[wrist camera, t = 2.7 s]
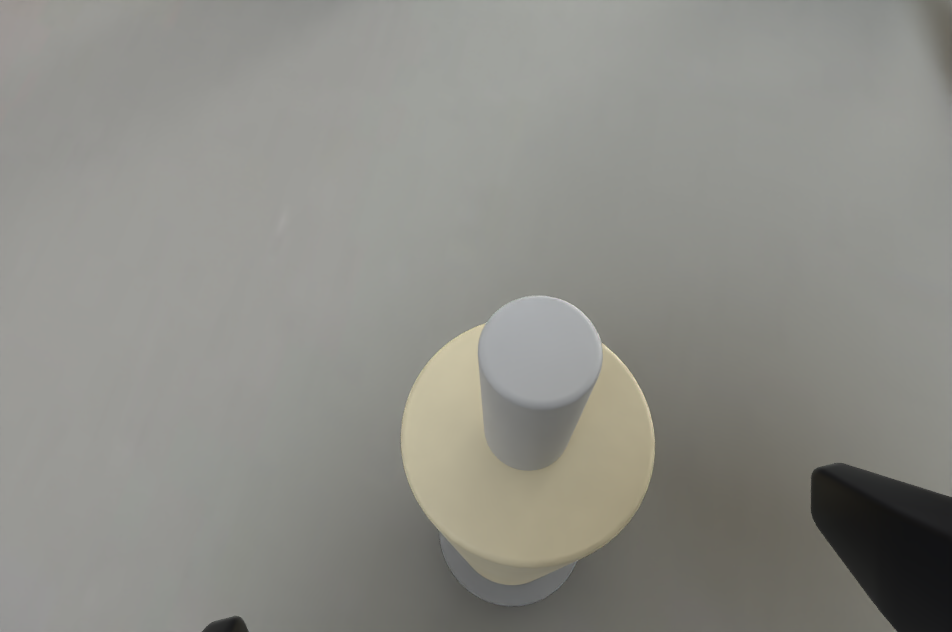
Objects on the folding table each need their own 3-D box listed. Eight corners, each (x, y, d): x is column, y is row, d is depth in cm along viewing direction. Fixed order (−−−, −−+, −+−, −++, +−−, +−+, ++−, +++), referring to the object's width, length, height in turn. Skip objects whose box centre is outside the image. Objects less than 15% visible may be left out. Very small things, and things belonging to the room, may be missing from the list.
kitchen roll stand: (594, 580, 17) (924, 526, 4) (464, 624, 16) (338, 731, 3) (548, 451, 18) (664, 112, 6) (430, 488, 18) (260, 216, 5)
